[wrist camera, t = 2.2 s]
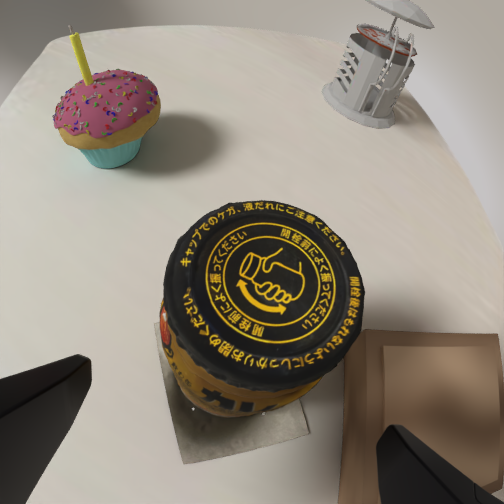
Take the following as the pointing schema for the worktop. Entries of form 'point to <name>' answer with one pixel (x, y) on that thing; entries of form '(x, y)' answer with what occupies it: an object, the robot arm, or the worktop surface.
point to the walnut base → (423, 404)
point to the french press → (375, 67)
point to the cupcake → (106, 112)
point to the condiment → (253, 324)
